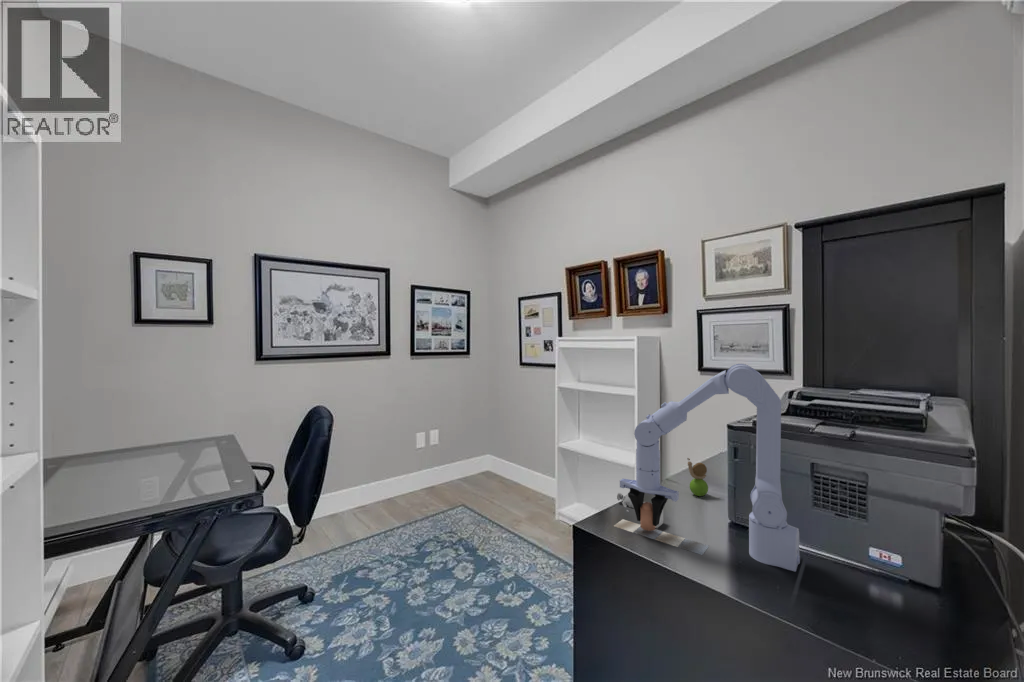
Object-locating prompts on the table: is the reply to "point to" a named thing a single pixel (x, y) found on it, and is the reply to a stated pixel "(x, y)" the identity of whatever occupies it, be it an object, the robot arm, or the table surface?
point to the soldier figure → (625, 500)
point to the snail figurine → (698, 479)
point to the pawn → (646, 516)
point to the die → (660, 520)
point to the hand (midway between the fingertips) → (648, 522)
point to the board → (663, 537)
